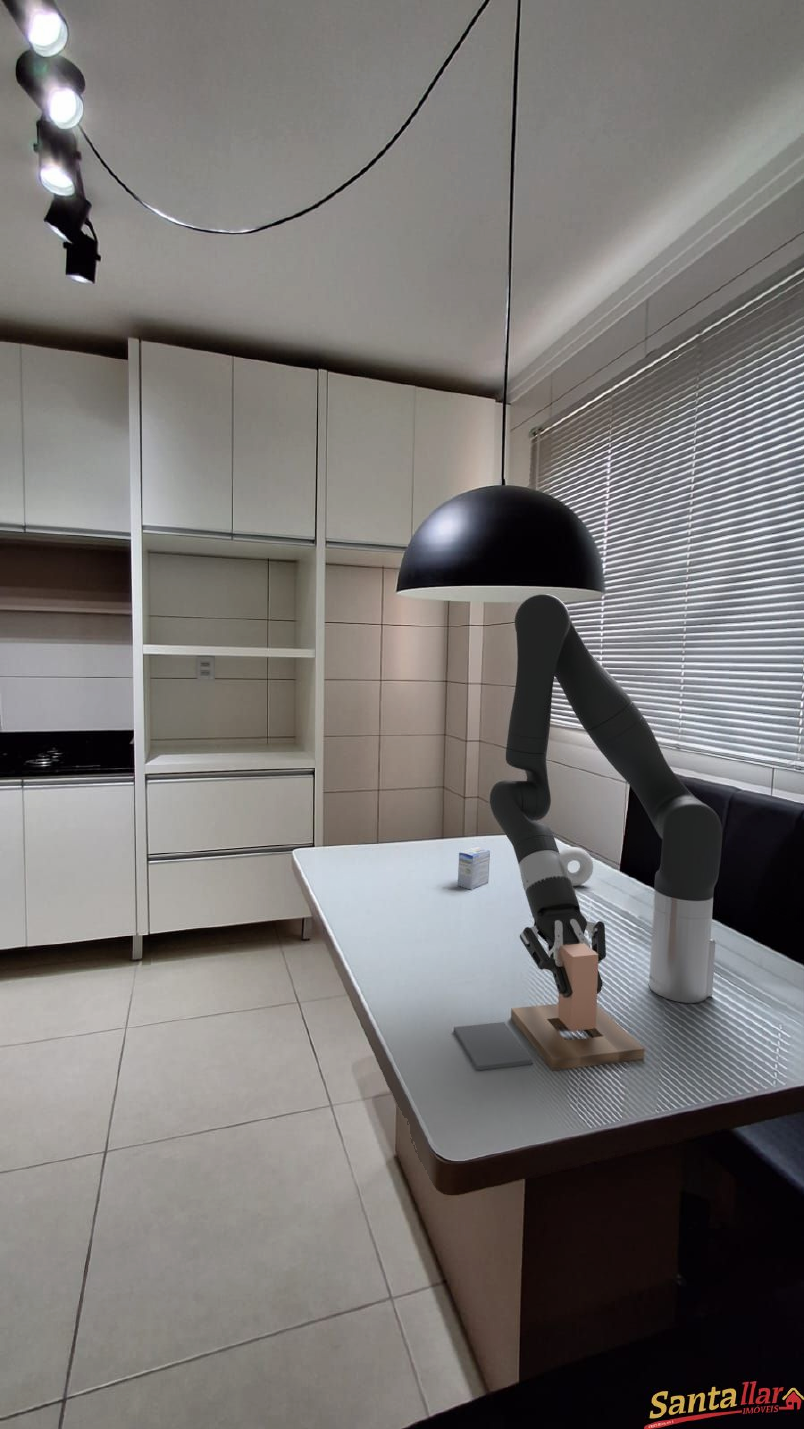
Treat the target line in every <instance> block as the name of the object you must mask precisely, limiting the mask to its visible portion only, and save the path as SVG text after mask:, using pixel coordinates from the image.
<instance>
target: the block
mask: <svg viewBox="0 0 804 1429" xmlns="http://www.w3.org/2000/svg"><path fill="white" fill-rule="evenodd" d="M560 947H561V956H562V959H563V967H565V969H566V973H567V976H568V979H569V982H570V985H571V988H572V990H573V994H571V995H570V996H569V997H567V998H564V997H563V995H562V994H560V993H559V992H558V997H557V998H558V999H557V1002H558V1003H557V1004H558V1018H559V1019H560V1020H561V1021H562V1022H563V1023H564V1024H565V1026H566V1027H565V1028H567V1029H568V1030H569V1031H570V1032H577V1031H584V1030H587V1029H593V1028H596V1010H597V1005H598V1004H597V1003H598V1001H597V1000H598V994H597V981H598V971H599V964H598V954H597V953H596V952H595V951H593V950H592V947H591V946H590V947H588V946H587V945H586V944H585V943H583V944H572V945H561V946H560Z"/></svg>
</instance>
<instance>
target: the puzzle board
mask: <svg viewBox="0 0 804 1429" xmlns="http://www.w3.org/2000/svg"><path fill="white" fill-rule="evenodd" d="M510 1019H511V1020H512V1022H514V1024H515V1025H516V1026H517V1027H518V1029H519V1030H520V1031H521V1033H522V1034H523V1035H524V1036H525V1038H526V1039H527V1040H528V1042H529V1043H530V1044H531V1046H533V1047H534V1049H535V1051H536V1052H537V1053H538V1054H539V1055H540V1057H541V1058H542V1059H543V1061H544V1062H545V1063H546V1064H547V1065H548V1067H549V1068H550V1070H552V1072H553V1071H561V1070H567V1069H576V1068H584V1067H590V1066H593V1067H594V1066H600V1065H607V1064H616V1063H622V1062H630V1061H638V1060H639V1061H640V1060H644V1059H645V1047H644V1046H642V1044H641V1043H639V1042H638V1041H637V1040H636V1039H635V1038H634V1037H633V1036H632V1035H630V1034H629V1032H627V1031H626V1030H625V1029H624V1028H623V1027H622V1026H621V1025H620V1024H618V1023H617V1021H615V1020H614V1019H613V1017H611V1016H610V1015H609V1014H608V1013H607V1012H605V1010H604V1009H603V1008H602V1007H600V1006H599V1004H597V1010H596V1028H593V1029H586V1030H587V1032H588V1033H589V1034H590V1035H591V1036H592V1037H585V1038H577V1039H570V1040H568V1039H567V1040H566V1039H565V1038H564V1037H563V1036H562V1035H561V1033H560V1032H559V1031H558V1030H557V1029H556V1028H564V1027H565V1028H567V1027H566V1026H565V1024H564V1023H563V1022H562V1021H561V1020H560V1019H559V1018H558V1003H551V1004H541V1005H534V1006H533V1005H532V1006H531V1005H530V1006H522V1007H513V1008H511V1009H510Z"/></svg>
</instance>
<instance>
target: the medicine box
mask: <svg viewBox="0 0 804 1429" xmlns="http://www.w3.org/2000/svg"><path fill="white" fill-rule="evenodd" d="M490 860H491V850H489V849H487V848H483V847H478V846H475V847H471V848H469V849H465V850H462V851H459V853H458V868H457V869H458V870H457V872H458V873H457V874H458V875H457V886H458V887H460V886H461V888H465V889H468V890H474V889H476V888H479V887H481V886H483V885H485V884H488V883H489V881H490V880H489V879H490V862H491V861H490Z"/></svg>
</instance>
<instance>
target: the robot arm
mask: <svg viewBox="0 0 804 1429" xmlns="http://www.w3.org/2000/svg"><path fill="white" fill-rule="evenodd" d="M514 628H515V632H516V649H517V650H516V651H517V659H516V660H517V664H516V679H515V688H514V694H513V700H512V706H511V711H510V717H509V725H508V730H507V731H508V732H507V738H506V739H507V740H506V747H505V748H506V749H505V761H506V763H507V764H508V765H509V766H510V767H513V768H514V769H519V770H522V771H524V772H525V774H526V780H511V779H510V780H507V779H506V780H500V781H498V782H496V783H495V784H494V785H493V786H492V789H491V791H490V793H489V805H490V806H489V807H490V809H491V812H492V815H493V817H494V819H495V820H496V822H497V823H498V825H499V826H500V828H501V830H502V831H503V832H504V834H505V835H506V838H507V839H508V840H509V842H510V844H511V845H512V847H513V851H514V854H515V857H516V860H517V864H518V867H519V872H520V879H521V883H522V888H523V890H524V893H525V896H526V899H527V902H528V906H529V909H530V913H531V916H532V918H533V919H534V920H533V921H534V922H533V923H534V924H533V926H531V927H529V926H528V927H527V926H526V927H525V928H524V929H523V930H522V932H521V933H520V934H519V939H520V941H521V942H522V944H523V946H524V948H525V949H526V950H527V952H528V954H529V955H530V957H531V959H532V960H533V961H534V963H535V965H536V966H537V968H538V969H539V970H541V971H543V970H547V971H550V972H551V973H552V976H553V979H554V982H555V985H556V989H557V992H558V994H559V993H560V994H562V995H563V997H564V998H567V997H569V996H570V995H571V994H573V990H572V988H571V985H570V982H569V979H568V976H567V973H566V969H565V967H563V959H562V956H561V947H560V946H561V945H572V944H583V943H585V944H586V945H587V946H588V947H590V948H591V949H592V950H593V951H595V952H596V953H597V954H598V965H599V964H600V963H601V962H602V961H603V960H604V959H605V958H606V957H607V947H606V946H607V945H606V943H607V942H606V926H605V923H604V922H603V921H602V920H599V921H597V922H593V921H588V920H587V918H586V917H585V916H584V914H582V912H581V908H580V903H579V900H578V897H577V895H576V892H575V889H574V886H573V885H572V883H571V880H570V877H569V874H568V871H567V868H566V866H565V864H564V862H563V860H562V858H561V856H560V851H559V848H558V844H557V842H556V839H555V836H554V834H553V831H552V830H551V828H550V827H549V826H548V825H546V824H544V823H540V822H537V821H541V820H542V819H544V818H545V817H546V816H547V814H548V813H549V811H550V809H551V804H552V803H551V802H552V799H551V798H552V797H551V790H550V785H549V784H550V783H549V776H548V775H549V774H548V767H547V754H548V753H547V752H548V747H549V746H548V744H549V738H550V728H551V720H552V719H551V718H552V717H551V716H552V703H553V702H552V700H553V688H554V681H555V679H556V680H557V682H558V683H559V685H560V688H561V689H562V691H563V694H564V695H565V697H566V699H567V700H566V701H567V702H568V703H569V706H570V707H571V709H572V711H573V713H574V714H575V715H576V718H577V719H578V721H579V723H580V724H581V726H582V727H583V729H584V730H585V732H586V733H587V735H588V736H589V738H590V739H591V740H592V742H593V743H594V744H595V746H596V747H597V749H598V750H599V751H600V753H601V754H602V755H603V756H604V757H605V759H606V760H607V761H608V762H609V764H610V765H611V766H612V767H613V768H614V769H615V770H616V771H617V772H618V773H619V775H620V776H621V777H622V778H623V779H624V780H625V782H627V784H628V785H629V786H630V788H631V789H632V791H633V792H634V793H635V795H636V796H637V799H638V800H639V801H640V803H641V805H642V806H643V809H644V810H645V812H646V813H647V815H648V818H649V819H650V820H651V823H652V825H653V827H654V830H655V831H656V832H657V834H658V836H659V837H660V838H661V840H662V841H661V856H660V864H659V865H660V866H659V869H658V870H657V871H656V872H655V875H654V890H653V909H652V926H651V927H652V928H651V946H650V957H649V958H650V960H649V961H650V962H649V974H648V976H649V979H648V985H649V988H650V990H652V992H654V993H655V994H657V995H658V996H660V997H662V998H665V999H667V1000H671V1001H673V1002H679V1003H686V1004H694V1003H695V1004H696V1003H700V1002H703V1001H705V1000H706V999H707V998H708V997H712V996H713V991H714V974H715V958H716V945H717V944H716V940H715V939H714V938H711V937H712V936H711V935H712V923H713V922H712V921H713V906H714V904H713V903H714V891H715V890H714V889H715V886H716V884H717V883H718V881H719V880H718V879H719V875H720V866H721V857H722V845H723V844H722V843H723V827H722V823H721V819H720V817H719V816H718V814H717V813H716V811H715V810H714V809H713V808H712V807H710V806H709V805H707V804H706V803H704V802H702V801H701V800H699V799H698V798H697V797H695V795H694V794H692V792H691V791H690V790H689V789H688V788H687V787H686V786H685V785H684V783H683V782H682V781H681V780H680V779H679V777H678V775H676V774H675V772H674V771H673V770H672V768H671V767H670V765H669V764H668V762H667V761H666V759H665V757H664V755H663V752H662V750H661V748H660V745H659V743H658V740H657V739H656V737H655V734H654V732H653V730H652V728H651V725H649V723H648V721H647V719H646V718H645V717H644V715H643V714H642V712H641V711H640V709H639V708H638V706H637V705H636V704H635V702H634V701H633V700H632V698H631V697H630V695H629V694H628V693H627V692H626V691H625V690H624V688H623V687H622V686H621V685H620V683H619V682H618V681H617V680H616V679H615V678H614V677H613V676H612V675H611V673H609V672H608V670H606V668H605V667H604V666H603V665H602V664H601V663H600V662H599V661H598V660H597V659H596V658H595V657H594V656H593V654H592V653H591V651H590V650H589V648H588V647H587V646H586V644H585V642H584V640H583V639H582V637H581V636H580V634H579V632H578V630H577V628H576V627H575V625H574V622H573V621H572V619H571V615H570V612H569V609H568V608H567V606H566V604H565V603H564V602H562V600H561V599H560V598H558V597H556V596H555V595H552V594H548V593H539V594H534V595H532V596H530V597H528V598H526V599H525V600H524V601H523V602H522V603H521V604H520V606H518V609H517V611H516V613H515V616H514ZM586 931H587V933H588V937H589V938H591V945H590V942H589V940H588V939H587V937H586V936H585V932H586ZM539 937H540V938H541V939H542V940H543V941H544V942H546V946H547V947H546V948H547V949H545V948H544V946H543V945H542V943H541V942H540V940H539ZM546 950H547V951H546ZM603 987H604V986H603V979H602V977H601V973H600V971H599V970H598V981H597V995H599V993H600V992H602V988H603Z"/></svg>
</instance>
